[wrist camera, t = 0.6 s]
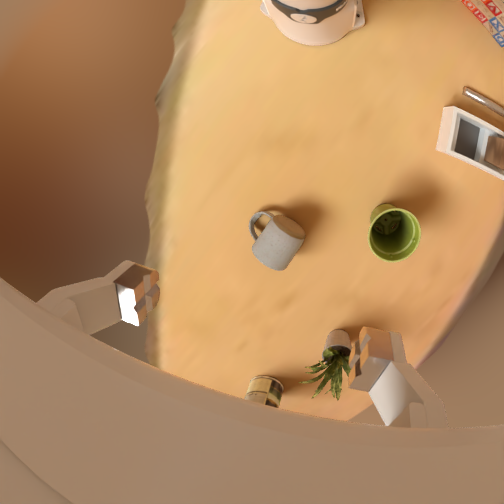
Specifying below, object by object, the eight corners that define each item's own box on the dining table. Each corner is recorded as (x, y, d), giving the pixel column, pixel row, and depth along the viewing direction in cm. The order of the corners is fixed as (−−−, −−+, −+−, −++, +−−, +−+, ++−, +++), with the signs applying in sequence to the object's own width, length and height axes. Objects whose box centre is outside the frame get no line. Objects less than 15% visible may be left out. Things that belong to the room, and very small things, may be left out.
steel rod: (462, 96, 34) (466, 92, 32) (462, 88, 34) (466, 85, 32) (513, 125, 32) (518, 122, 30) (512, 117, 32) (517, 115, 30)
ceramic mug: (310, 227, 54) (306, 243, 47) (288, 259, 58) (282, 278, 51) (262, 199, 54) (252, 210, 47) (244, 232, 58) (231, 247, 51)
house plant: (293, 327, 65) (280, 379, 51) (343, 301, 59) (344, 355, 44) (324, 362, 68) (318, 413, 53) (372, 341, 61) (376, 394, 47)
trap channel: (443, 106, 37) (454, 106, 32) (528, 153, 33) (541, 157, 28) (435, 149, 41) (445, 152, 36) (519, 190, 37) (532, 196, 32)
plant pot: (417, 213, 47) (431, 230, 39) (389, 250, 51) (397, 272, 44) (381, 185, 47) (390, 196, 39) (352, 224, 51) (356, 242, 44)
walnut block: (488, 135, 34) (504, 138, 28) (506, 145, 33) (522, 150, 28) (483, 160, 36) (499, 166, 31) (501, 169, 35) (517, 176, 30)
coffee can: (289, 383, 74) (280, 423, 62) (275, 399, 79) (265, 436, 67) (256, 370, 75) (242, 409, 63) (245, 387, 80) (231, 424, 68)
